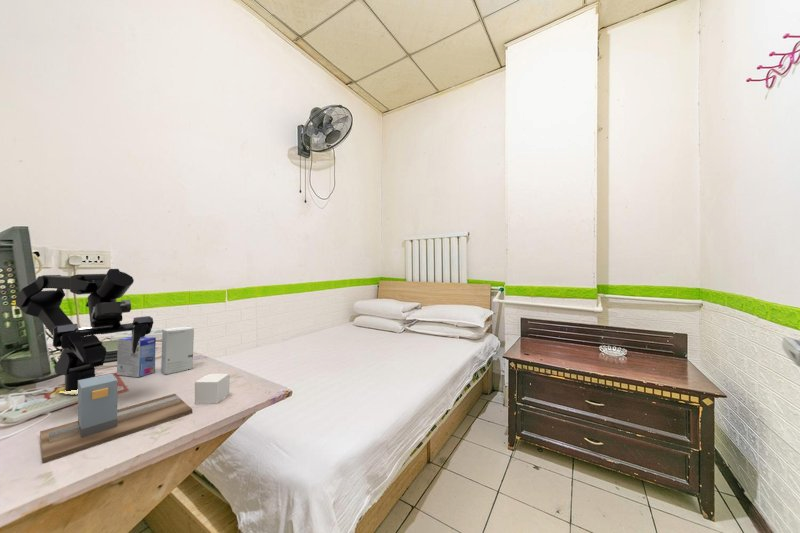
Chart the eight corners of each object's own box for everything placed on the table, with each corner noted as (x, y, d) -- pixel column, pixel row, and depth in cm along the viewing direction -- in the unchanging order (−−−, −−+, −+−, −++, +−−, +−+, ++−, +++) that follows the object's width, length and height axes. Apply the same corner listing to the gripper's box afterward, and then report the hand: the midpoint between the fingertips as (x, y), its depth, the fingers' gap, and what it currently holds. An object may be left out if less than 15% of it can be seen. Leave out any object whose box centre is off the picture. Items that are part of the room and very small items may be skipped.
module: (77, 427, 65) (77, 380, 65) (111, 417, 70) (112, 373, 70) (81, 439, 61) (81, 389, 61) (117, 427, 65) (117, 380, 65)
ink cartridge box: (156, 371, 101) (156, 330, 101) (139, 378, 96) (139, 334, 96) (134, 369, 103) (134, 328, 103) (116, 375, 98) (116, 332, 98)
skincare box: (164, 375, 98) (165, 331, 98) (160, 371, 102) (160, 328, 102) (194, 368, 105) (194, 327, 104) (189, 364, 108) (189, 325, 108)
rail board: (40, 435, 63) (40, 424, 63) (174, 397, 82) (174, 388, 82) (42, 463, 55) (42, 450, 55) (192, 412, 74) (192, 403, 74)
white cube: (217, 404, 79) (217, 382, 79) (194, 404, 79) (194, 382, 79) (229, 394, 85) (229, 373, 85) (208, 394, 85) (208, 373, 85)
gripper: (53, 293, 71) (56, 346, 64) (151, 288, 86) (162, 331, 79) (51, 321, 76) (54, 373, 69) (145, 312, 91) (154, 354, 84)
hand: (110, 356), depth 75 cm, fingers open, 9 cm apart
